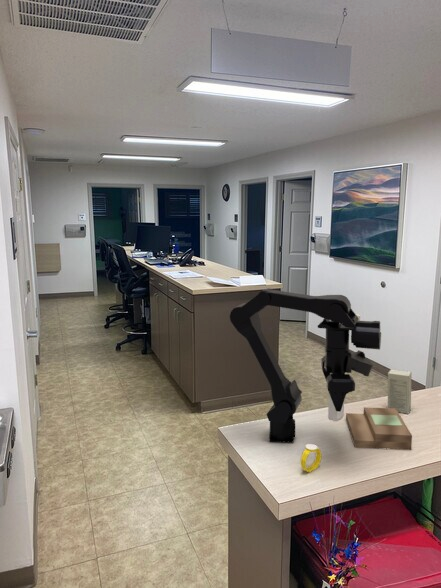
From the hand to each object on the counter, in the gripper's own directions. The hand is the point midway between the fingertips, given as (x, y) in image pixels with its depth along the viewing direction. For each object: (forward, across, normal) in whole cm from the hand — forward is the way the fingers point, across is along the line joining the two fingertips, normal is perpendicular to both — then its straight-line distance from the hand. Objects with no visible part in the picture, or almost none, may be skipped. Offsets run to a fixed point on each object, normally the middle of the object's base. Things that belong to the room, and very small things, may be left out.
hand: (336, 403), depth 112 cm
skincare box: (+12, +24, -22) cm, 35 cm away
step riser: (+12, +8, -12) cm, 19 cm away
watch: (+12, -11, +7) cm, 18 cm away
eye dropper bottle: (+4, 0, 0) cm, 4 cm away
